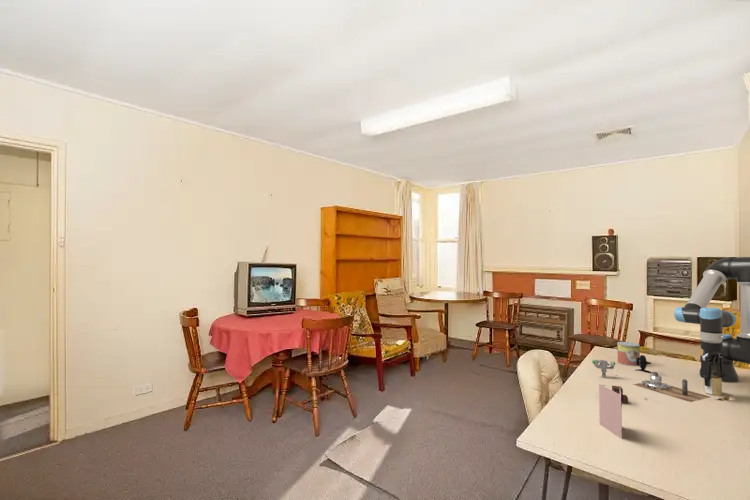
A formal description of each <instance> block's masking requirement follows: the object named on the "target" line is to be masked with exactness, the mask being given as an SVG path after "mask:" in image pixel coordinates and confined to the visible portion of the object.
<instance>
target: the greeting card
mask: <svg viewBox="0 0 750 500" xmlns="http://www.w3.org/2000/svg"><path fill="white" fill-rule="evenodd" d="M598 392H599V393H598V394H599V395H598V396H599V397H598V399H599V400H598V401H599V402H598V403H599V404H598V405H599V408H598V409H599V410H598V411H599V425H600V426H602V427H603V428H604V429H606V430H608V431H609V432H611V433H612V434H613V435H615V436H616V437H619V439H623V437H622V436H623V428H622V427H623V426H622V425H623V424H622V423H623V419H622V418H623V417H622V416H623V415H622V413H623V412H622V405H623V403H622V402H623V400H624V397H623V395H624V394H623V395H622V392H621V391H620V394H618V393H616V392H614V391H612V389H610V388H608V387H607V386H604V385H603V384H600V383H599V384H598Z"/></svg>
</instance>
